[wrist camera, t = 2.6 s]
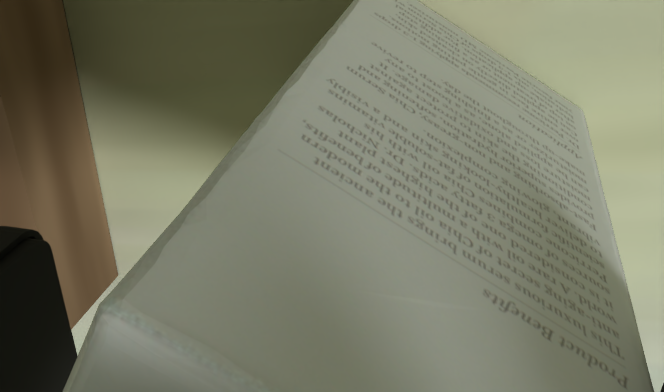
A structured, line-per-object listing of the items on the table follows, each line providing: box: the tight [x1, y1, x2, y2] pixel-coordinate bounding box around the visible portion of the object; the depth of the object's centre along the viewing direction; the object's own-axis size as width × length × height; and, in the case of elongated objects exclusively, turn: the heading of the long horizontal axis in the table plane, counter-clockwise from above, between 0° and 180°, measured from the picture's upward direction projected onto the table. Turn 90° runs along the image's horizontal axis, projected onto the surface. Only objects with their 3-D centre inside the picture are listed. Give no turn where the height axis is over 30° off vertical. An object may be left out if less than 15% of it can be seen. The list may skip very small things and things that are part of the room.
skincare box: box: [63, 0, 654, 392], centre depth 11 cm, size 6×4×12 cm
